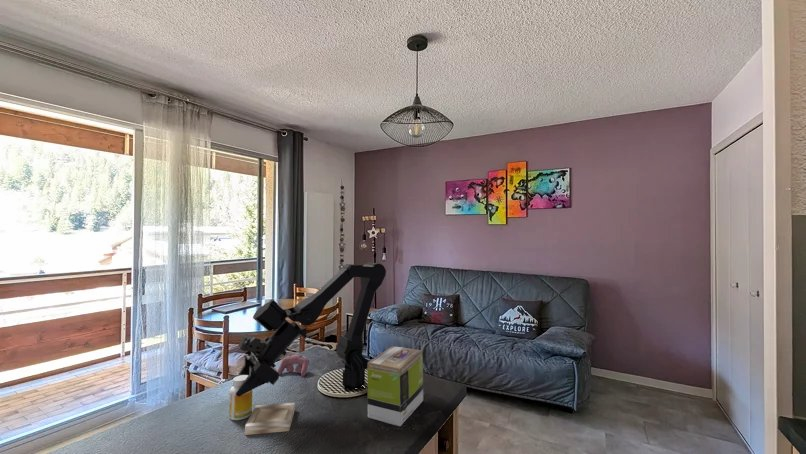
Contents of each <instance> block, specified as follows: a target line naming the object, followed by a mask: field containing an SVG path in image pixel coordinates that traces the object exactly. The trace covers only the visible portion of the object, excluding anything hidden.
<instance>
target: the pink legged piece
mask: <svg viewBox="0 0 806 454" xmlns="http://www.w3.org/2000/svg"><path fill="white" fill-rule="evenodd" d="M294 365H296V366H295V367H294ZM309 365H310V359H309V358H308V357H306V356H303V355H301V354H292V355H291V354H290V355H285V356H284V358H283V359H281V361H280V364H279V366H278V368H277V372H278V373H279V376H280V375H282V374H283V373H284V371H285V370H286V372H287V373H293V372H294V371H295V372H296V373H297V374H300V375H301V377H305V376H306V374H307V372H308V369H309Z"/></svg>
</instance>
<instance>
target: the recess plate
mask: <svg viewBox="0 0 806 454" xmlns="http://www.w3.org/2000/svg"><path fill="white" fill-rule="evenodd" d="M295 406H296V403H295V402H285V403H273V404H272V403H271V404H269V403H268V404H261V405H260V404H259V405H258V404H257V405H255V406H254V408H253V409H252V413H251V415H250V416H249V417H248V420H247V421H246V423H245V426H244V436H249V435H261V434H271V433H281V432H282V433H283V432H289V431H290V430H291V429H290V428H291V425H292V421H293V419H294V414H295V410H296V409H295V408H296V407H295Z"/></svg>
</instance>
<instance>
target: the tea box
mask: <svg viewBox="0 0 806 454" xmlns="http://www.w3.org/2000/svg"><path fill="white" fill-rule="evenodd" d="M423 356H424V355H423V350H422V349H416V348H415V349H414V348H410V347H409V348H407V347H402V346H395V345H392V346H391V347H389V348H388V349H386V350H385V351H383V352H381V353H379V354H378V355H377V356H375V357H374V358H372V359H371V360H368V361H369V362H368V366H367V369H366V370H367V371H366V372H367V375H366V376H367V381H366V382H367V384H366V385H367V418H369V419H372V420H376V421H379V422H382V423H386V424H390V425H393V426H397V427H401V426H402V425H403V424H404V422H406V420H407V419H409V417H410V416H411V415H412V414H413V413H414V411H415V410H416V409H417V408H418V407H419V406H420V405H421V404H422V402H424V372H423V371H424V367H423V366H424V365H423V364H424V363H423V362H424V361H423Z"/></svg>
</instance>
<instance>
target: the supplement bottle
mask: <svg viewBox="0 0 806 454" xmlns="http://www.w3.org/2000/svg"><path fill="white" fill-rule="evenodd" d="M247 377H248V375H240V376H238V375H237V376H235V377H233V379H232V386H231V388H230V389H229V400H228V401H229V405H228V406H229V409H228V412H229V413H228V417H229V419H230V420H231V421H240V420H244V419H247V418H250V416H251V414H252V412H253V389H252V390H251V391H249V392H247V393H245V394H243V395H241V396H237V395H236V392H237V391H238V389H239V388H240V386H241V385H242V384H243V382H244V381H245V380H246V378H247ZM233 385H234V386H233Z"/></svg>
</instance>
